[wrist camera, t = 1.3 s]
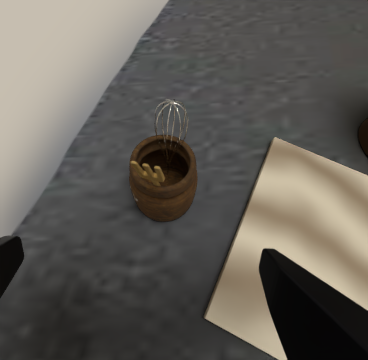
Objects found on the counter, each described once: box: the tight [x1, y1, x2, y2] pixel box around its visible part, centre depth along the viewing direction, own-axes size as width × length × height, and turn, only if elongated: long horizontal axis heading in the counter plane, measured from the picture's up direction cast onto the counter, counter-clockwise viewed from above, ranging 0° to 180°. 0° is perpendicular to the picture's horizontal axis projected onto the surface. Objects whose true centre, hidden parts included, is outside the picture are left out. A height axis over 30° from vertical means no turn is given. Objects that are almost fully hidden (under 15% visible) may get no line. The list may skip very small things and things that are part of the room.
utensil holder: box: [129, 99, 197, 221], centre depth 18 cm, size 6×6×12 cm
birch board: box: [204, 137, 368, 360], centre depth 22 cm, size 20×14×1 cm
